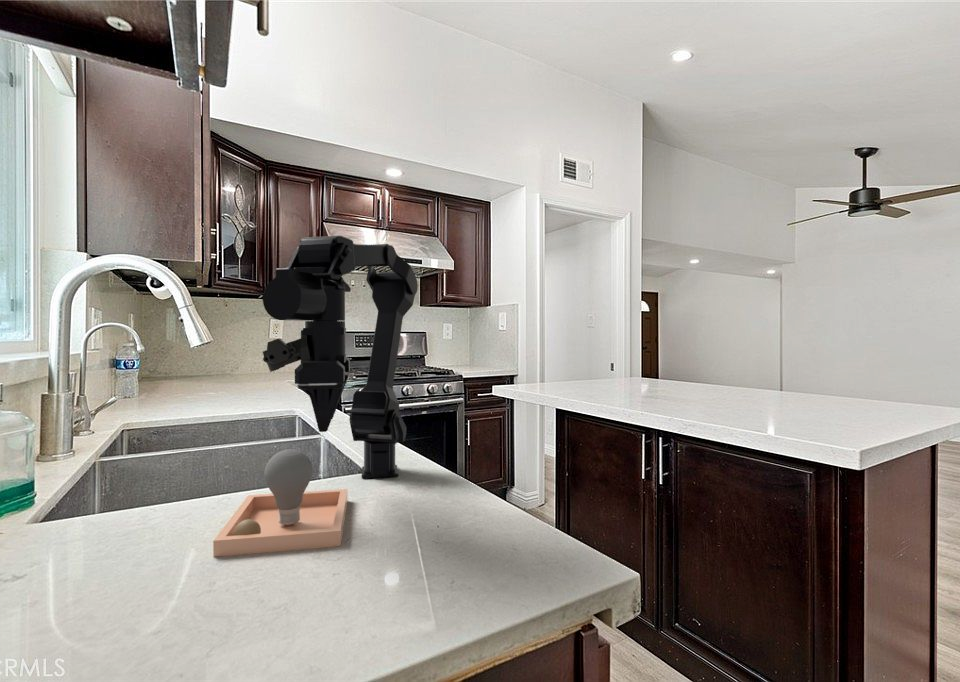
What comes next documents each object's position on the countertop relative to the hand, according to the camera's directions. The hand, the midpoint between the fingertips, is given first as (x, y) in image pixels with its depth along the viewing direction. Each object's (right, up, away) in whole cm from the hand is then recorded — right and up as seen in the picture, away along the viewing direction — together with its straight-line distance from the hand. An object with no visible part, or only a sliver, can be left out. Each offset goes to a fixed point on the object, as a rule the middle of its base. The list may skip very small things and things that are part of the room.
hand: (326, 425), depth 74 cm
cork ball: (-5, -12, -15) cm, 19 cm away
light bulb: (-2, -12, -8) cm, 15 cm away
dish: (-2, -12, -8) cm, 15 cm away
